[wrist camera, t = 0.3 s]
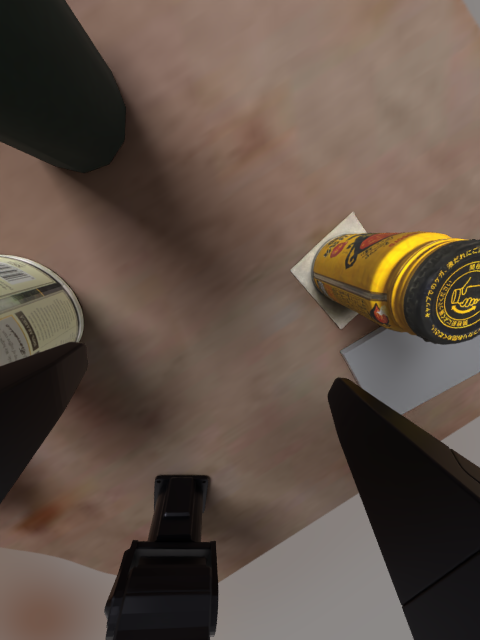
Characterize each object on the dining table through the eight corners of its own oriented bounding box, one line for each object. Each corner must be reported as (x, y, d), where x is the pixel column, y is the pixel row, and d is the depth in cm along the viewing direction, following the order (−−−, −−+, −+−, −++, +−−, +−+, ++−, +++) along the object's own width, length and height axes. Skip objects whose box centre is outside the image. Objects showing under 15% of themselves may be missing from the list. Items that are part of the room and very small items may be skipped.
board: (378, 420, 29) (382, 425, 28) (339, 351, 25) (343, 354, 24) (483, 362, 28) (491, 365, 27) (460, 278, 24) (468, 280, 23)
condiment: (351, 211, 20) (515, 181, 9) (397, 279, 23) (568, 320, 12) (289, 269, 22) (367, 305, 10) (339, 328, 24) (444, 407, 13)
